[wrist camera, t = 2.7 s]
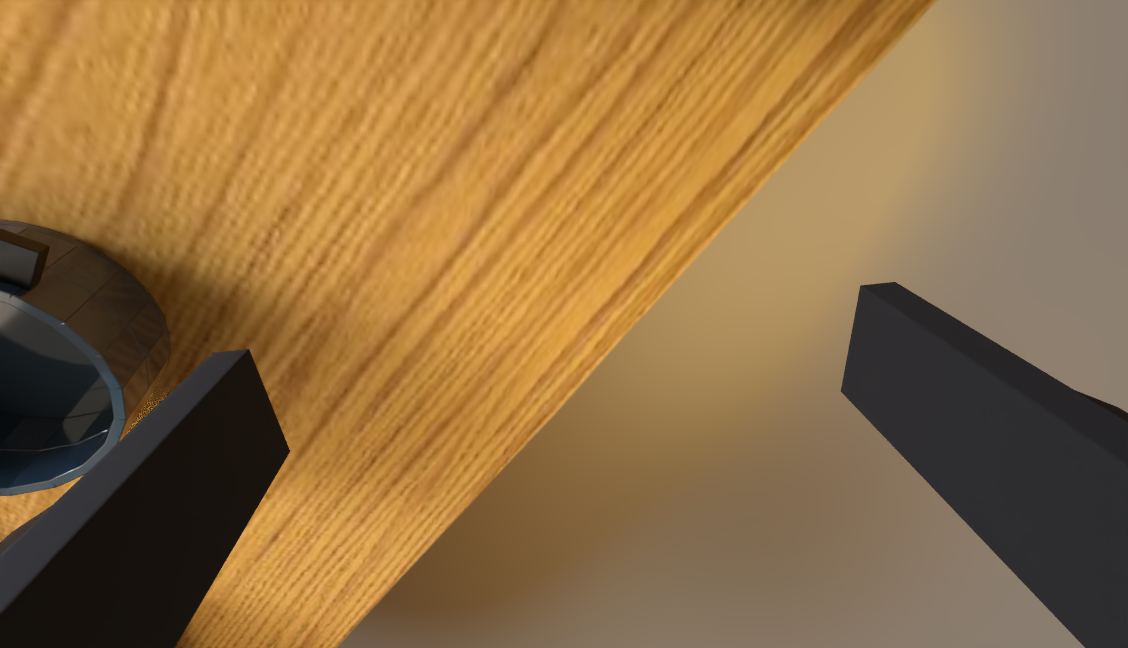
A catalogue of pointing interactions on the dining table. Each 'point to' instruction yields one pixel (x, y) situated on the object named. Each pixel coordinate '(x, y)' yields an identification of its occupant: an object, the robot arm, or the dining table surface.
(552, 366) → the dining table surface
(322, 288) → the dining table surface
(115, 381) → the pot
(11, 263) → the pot handles
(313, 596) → the dining table surface
